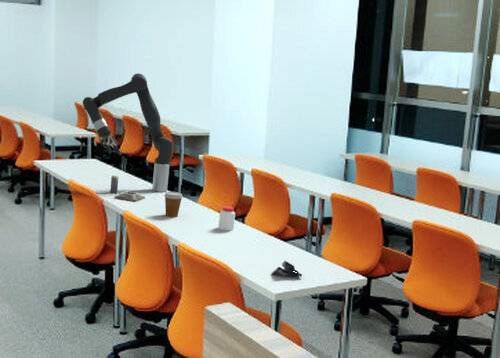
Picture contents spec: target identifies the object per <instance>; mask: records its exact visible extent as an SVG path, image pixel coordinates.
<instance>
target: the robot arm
mask: <svg viewBox="0 0 500 358" xmlns="http://www.w3.org/2000/svg"><path fill="white" fill-rule="evenodd" d="M135 93H136V95H137V97H138V100H139V105H140V109H141V110H140V111H141V112H142V115H143V118H144V120H145V124H146V125H147V128H148V130H149V132H150V133H149V134H150V136H151V139H152V143H153V146H154V148H155V149H154V150H156V151H158V155H157V157H156V158H154V167H153V176H152V177H153V178H152V188H151V190H152V191H153V192H158V193H164V192H165V191H166V192H168V184H169V174H170V173H169V172H170V163H171V161H172V158H173V157H172V156H173V150H174V145H173V142H172V140H171V139H170V138H168V137H167V138H166V137H165V135H164V134H163V131H162V128H161V116H160V115H161V114H160V112H159V109H158V107H157V104H156V103H155V101H154V99H153V97H152V95H151V93H150V90H149V86H148V81H147V78H146V76H145V75H143V74H142V73H135V74H133V75H132V77H131V80H130V81H129V82H127V83H125V84H122V85H120V86H116V87H112V88H109V89H107V90H103V91H102V92H100V93H98V95H97V96H95V97H92V96H91V97H90V96H86V97H84V98H83V100H82V106H83V107H84V110H85V111H86V113H87V115H88V116H89V118H90V120H91V123H92V124H93V128H94V130H95V132H96V134H97V136H98V139H99V142H100V144H101V147H102V148H105V149H106V151H107V153H108V154H111V153H112V152H113V151H114V152H115V154H118V153H120V150H119V147H118V145H119V143H118V142H117V140H116V138H115V136H111V134H112V131H111V129H110V127H109V125H108V123H107V122H106V119H105V118H104V116H103V114H102V112H101V111H100V110H99V108H101V107H103V106H104V105H106V104H108V103H111V102H113V101H115V100H117V99H120V98H123V97H125V96H128V95H131V94H135ZM111 147H112V148H113V151H112V149H111ZM166 192H165V193H166Z"/></svg>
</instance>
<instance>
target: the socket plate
mask: <svg viewBox="0 0 500 358" xmlns="http://www.w3.org/2000/svg"><path fill="white" fill-rule="evenodd" d="M115 198H118V199H117V200H121V199H122V200H123V201H127V202H128V201H130V202H135V203H137V202H139V201H141V200H143V199H146V197H145V196H143V195H141V193H140V192H135V191H127V190H125V191H122V192H119V194H117V195H115V196H114V199H115ZM122 200H121V201H122Z"/></svg>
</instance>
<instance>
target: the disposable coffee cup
mask: <svg viewBox="0 0 500 358" xmlns="http://www.w3.org/2000/svg"><path fill="white" fill-rule="evenodd" d="M183 197H184V196H183V194H182V193H181V192H177V191H166V192H165V194H164V199H165V200H164V202H165V203H164V204H165V216H166V217H169V218H176V217H178V216H179V215H178V214H179V211H180V207H181V203H182V199H183Z"/></svg>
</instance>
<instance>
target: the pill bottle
mask: <svg viewBox="0 0 500 358" xmlns="http://www.w3.org/2000/svg"><path fill="white" fill-rule="evenodd" d="M235 218H236V212H235V211H234V207H233V206H228V205H227V206H226V205H224V206H222V209H221V210H220V212H219V220H218V225H217V226H218V229H219V230H221V231H226V230H231V231H233V230H234V228H235Z"/></svg>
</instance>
